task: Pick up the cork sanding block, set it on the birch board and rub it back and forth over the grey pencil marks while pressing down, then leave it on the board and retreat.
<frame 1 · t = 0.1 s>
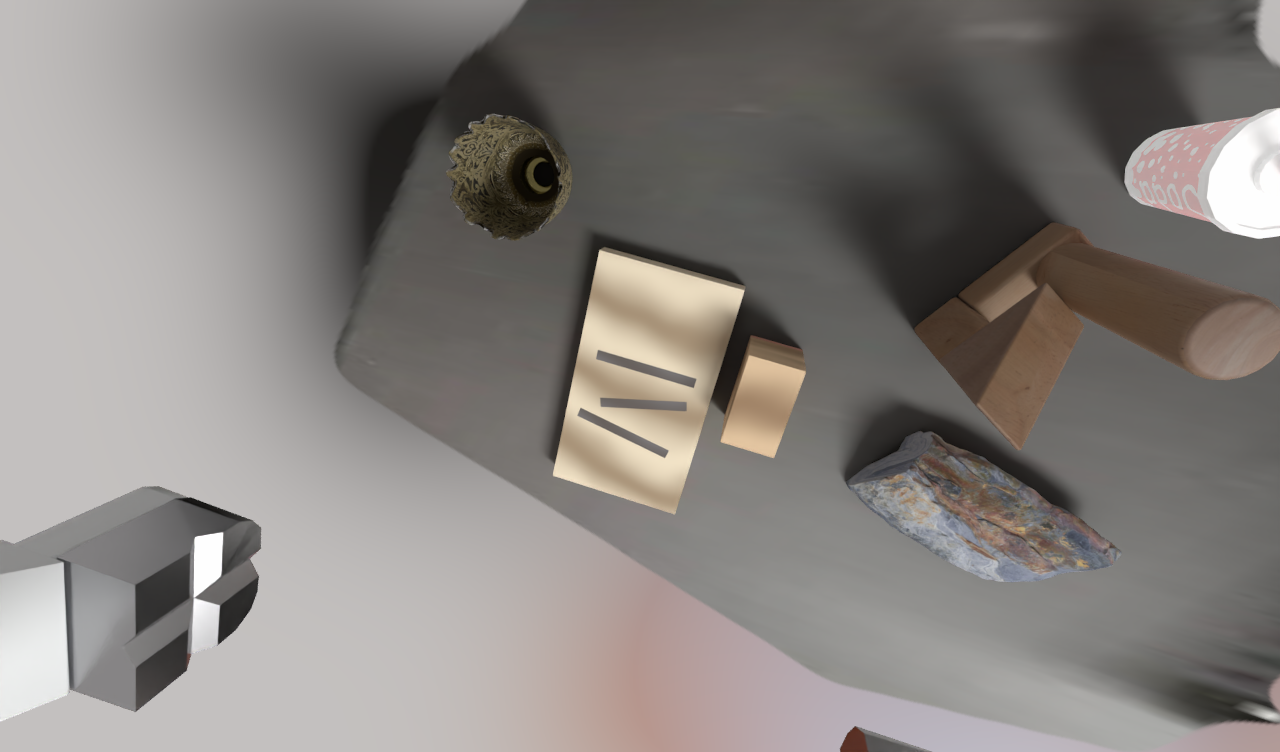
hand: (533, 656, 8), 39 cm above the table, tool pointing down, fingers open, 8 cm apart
board: (643, 384, 49), on the table
beverage cup: (1165, 168, 37), on the table
wooden block: (993, 294, 41), on the table
stone: (962, 502, 47), on the table
sanding block: (762, 382, 47), on the table
cup: (546, 174, 44), on the table
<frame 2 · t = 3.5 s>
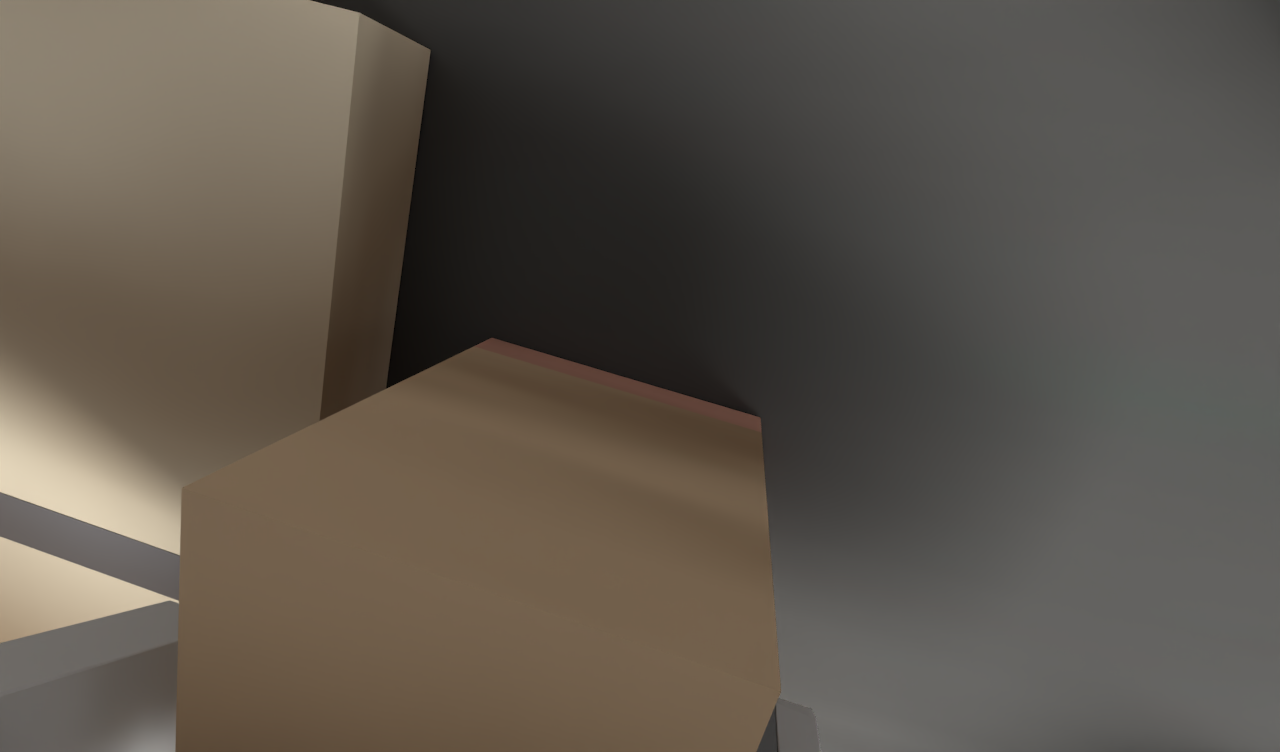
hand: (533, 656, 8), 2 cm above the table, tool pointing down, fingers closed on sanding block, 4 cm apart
board: (83, 560, 11), on the table
sanding block: (571, 580, 9), on the table, touching gripper
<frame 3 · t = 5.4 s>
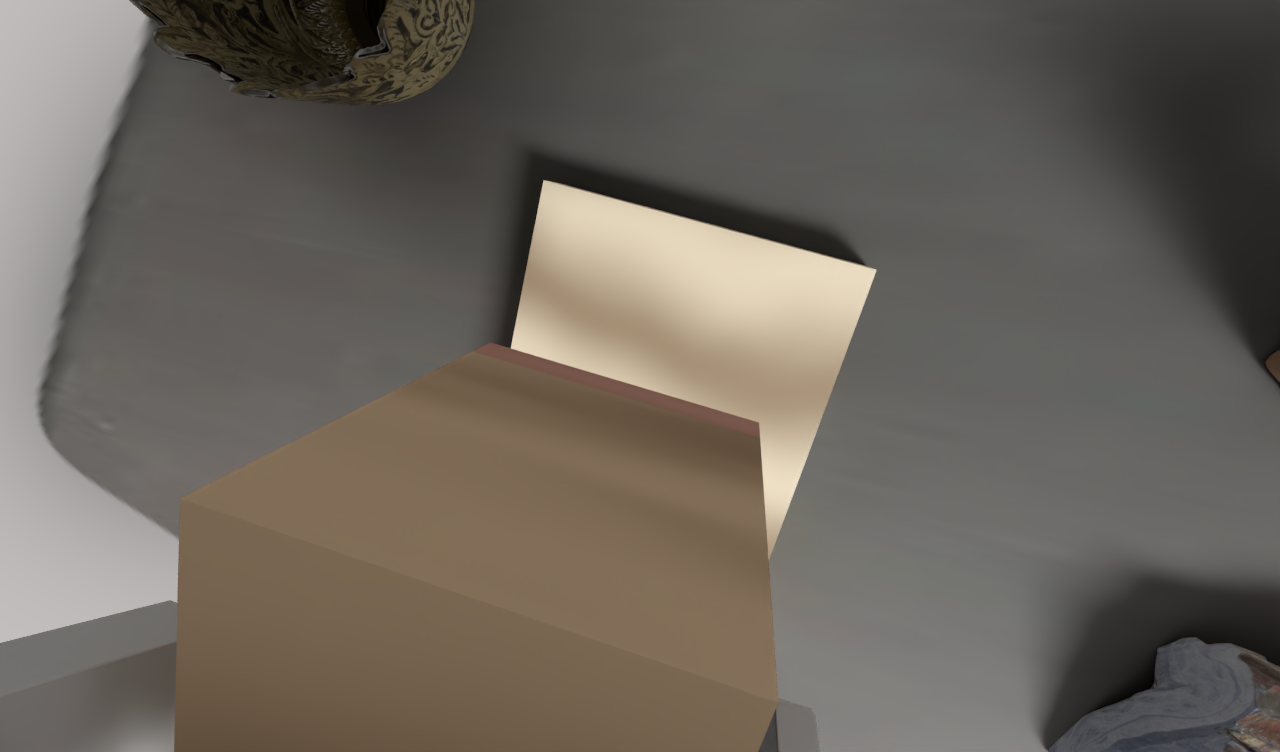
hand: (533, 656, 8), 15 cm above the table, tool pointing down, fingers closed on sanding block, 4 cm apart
board: (636, 478, 23), on the table
sanding block: (569, 584, 9), point 13 cm above the table, touching gripper
cup: (432, 23, 20), on the table
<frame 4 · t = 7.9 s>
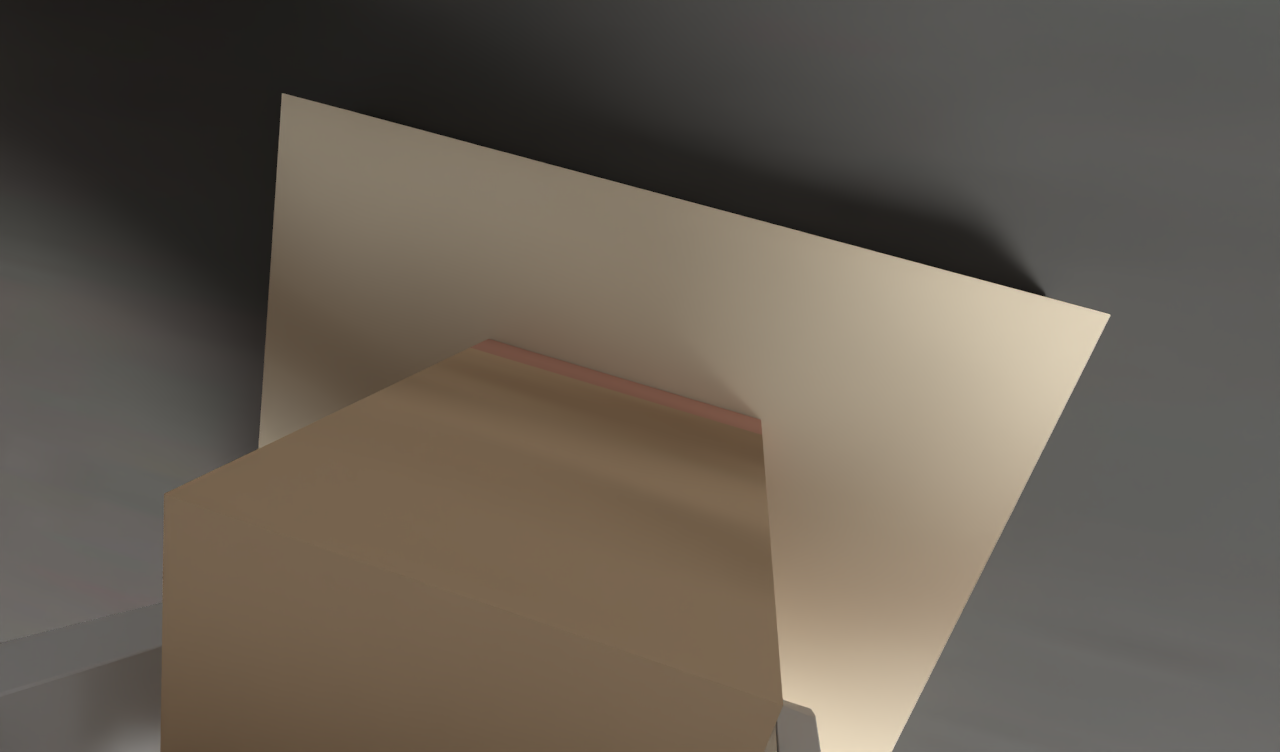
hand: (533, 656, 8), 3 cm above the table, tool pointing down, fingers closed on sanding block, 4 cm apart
board: (548, 702, 12), on the table
sanding block: (569, 584, 9), point 2 cm above the table, touching gripper
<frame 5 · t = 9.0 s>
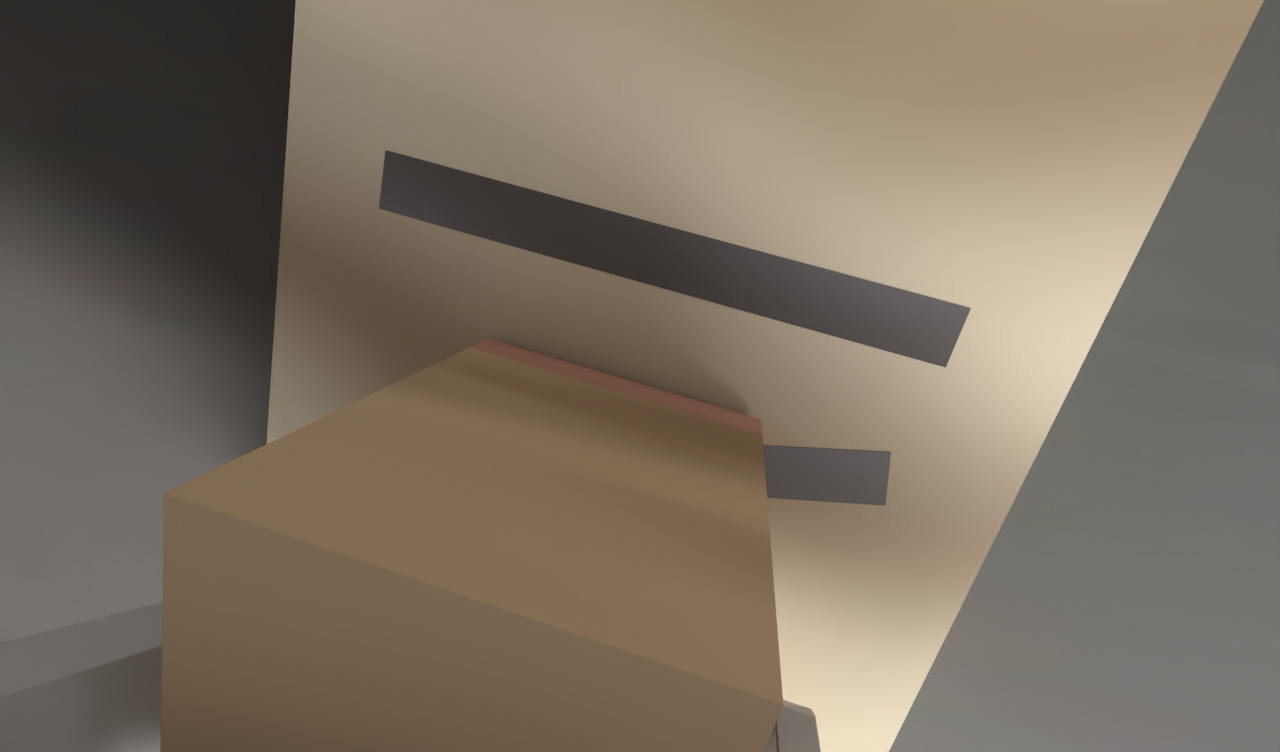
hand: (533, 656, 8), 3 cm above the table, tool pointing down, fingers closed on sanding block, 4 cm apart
board: (639, 366, 10), on the table
sanding block: (569, 584, 9), point 2 cm above the table, touching gripper
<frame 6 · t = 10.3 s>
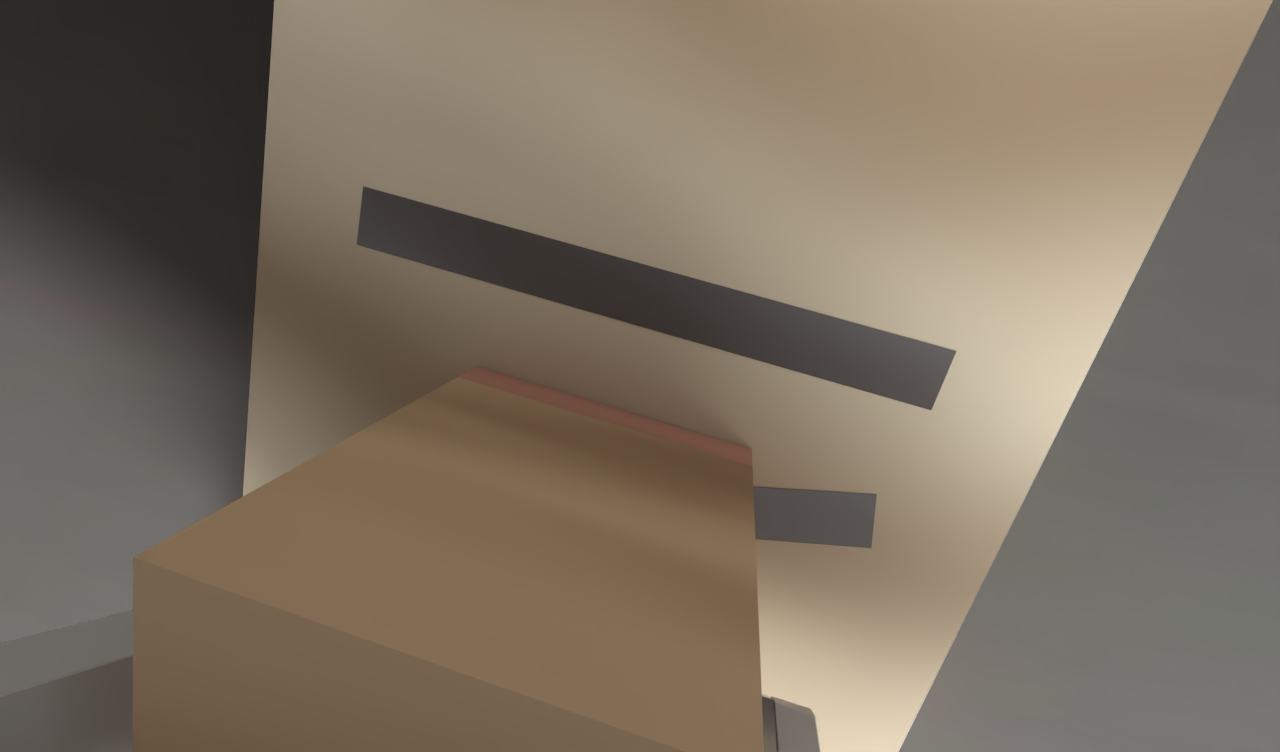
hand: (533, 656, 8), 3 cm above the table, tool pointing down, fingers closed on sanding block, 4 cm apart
board: (623, 400, 10), on the table
sanding block: (559, 611, 9), point 2 cm above the table, touching gripper
when the fingers open (3 cm above the table, at t = 14.6 s): sanding block stays where it is, resting on board.
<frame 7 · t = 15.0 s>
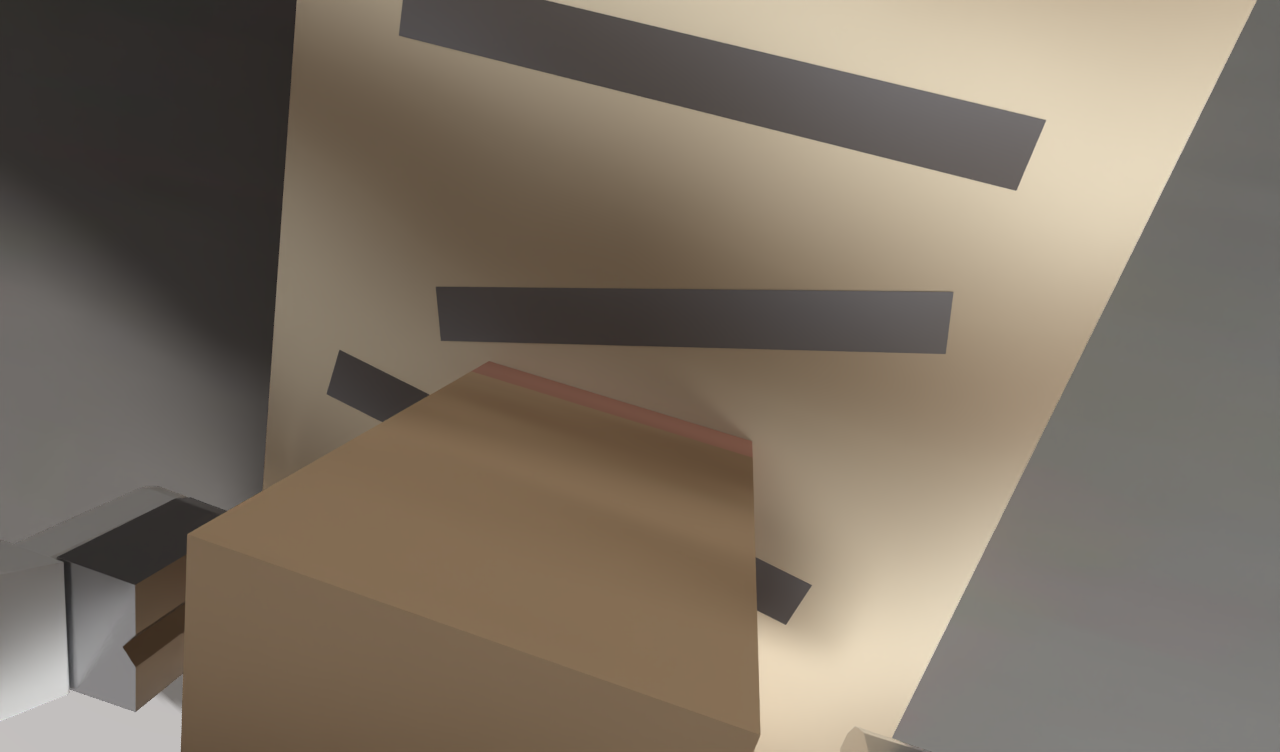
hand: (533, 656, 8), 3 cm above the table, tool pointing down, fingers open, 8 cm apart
board: (672, 233, 9), on the table
sanding block: (566, 597, 10), point 2 cm above the table, touching board
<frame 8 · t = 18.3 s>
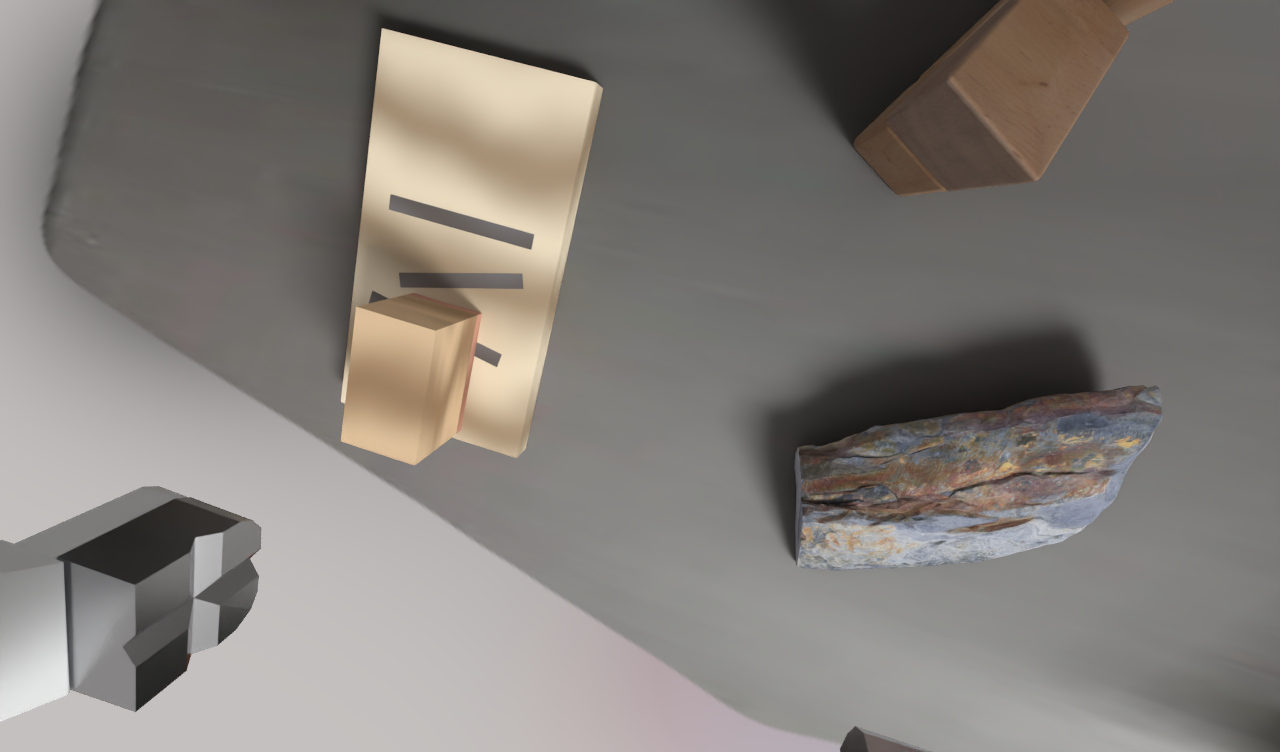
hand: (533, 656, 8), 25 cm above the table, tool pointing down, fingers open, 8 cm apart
board: (467, 257, 33), on the table
wooden block: (970, 83, 27), on the table
stone: (938, 476, 32), on the table
sanding block: (437, 363, 33), point 2 cm above the table, touching board
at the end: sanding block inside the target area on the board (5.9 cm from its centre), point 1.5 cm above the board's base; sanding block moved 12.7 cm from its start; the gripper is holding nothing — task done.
